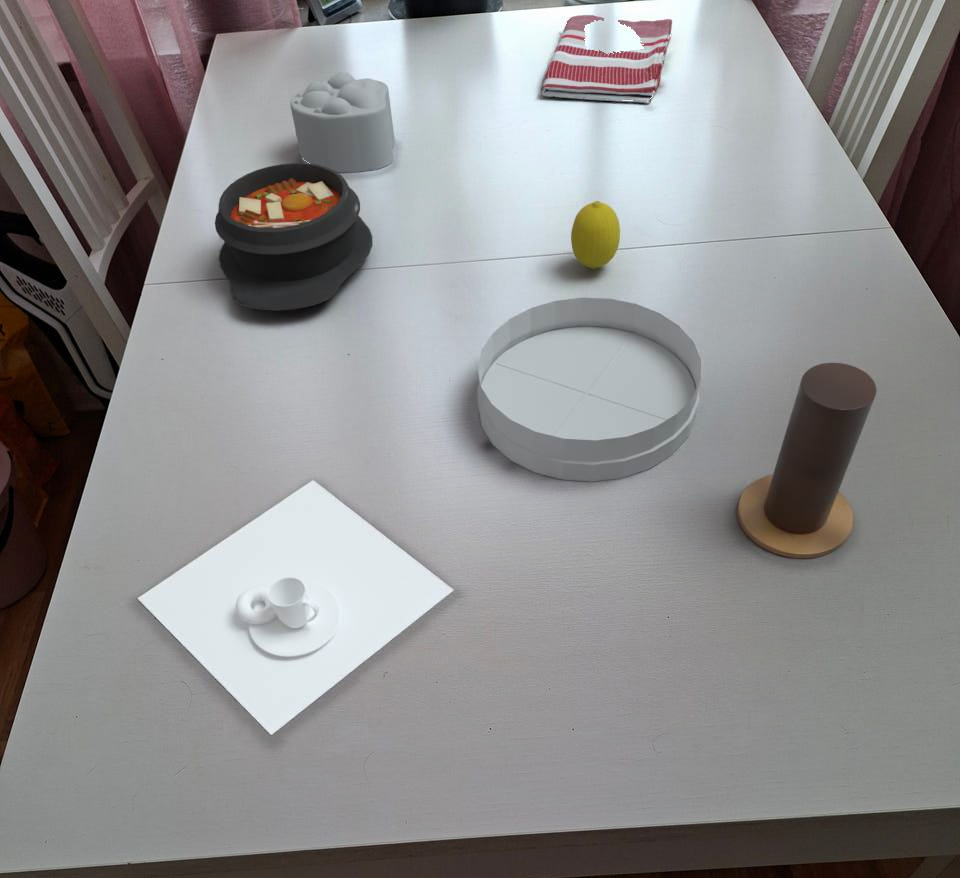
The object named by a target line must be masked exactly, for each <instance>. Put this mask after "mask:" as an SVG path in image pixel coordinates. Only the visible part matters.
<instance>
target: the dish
mask: <svg viewBox="0 0 960 878" xmlns="http://www.w3.org/2000/svg"><path fill="white" fill-rule="evenodd" d="M477 378H478V383H477V384H478V385H477V388H476V395H477V404H478V412H479V419H480V424H481V428H482V430H483V431H484V433H485V435H486V436H487V438H488V440H489V441H490V443H491V444H492V446H493V447H494V448H496V449H497V450H498V451H499V452H500V453H501V454H502V455H503V456H505V457H506V458H507V459H508V460H509V461H511V462H513V463H515V464H516V465H518V466H521V467H523V468H525V469H526V470H529V471H530V472H533V473H535V474H539V475H542V476H547V477H550V478H554V479H558V480H561V481H574V482H575V481H576V482H592V483H593V482H601V481H610V480H617V479H624V478H627V477H630V476H633V475H635V474H638V473H642V472H645V471H647V470H650V469H652V468H653V467H656V466H657V465H658V464H660V463H662V462H663V461H665V460H666V459H668V458H669V457H671V456H673V455H674V453H675V452H676V451H677V450H679V448H680V447H681V446H682V445H683V444H684V443H685V442H686V441H687V440H688V438H689V435H690V433H691V431H692V428H693V425H694V423H695V421H696V417H697V411H698V407H699V403H700V384H701V380H702V359H701V356H700V354H699V352H698V349H697V346H696V345H695V342H694V341H693V339H692V338H691V337H690V336H689V334H688V333H686V332H685V330H684V329H682V327H681V326H680V324H677V323H676V322H674V321H673V320H671V319H670V318H668V317H666V316H665V315H663V314H662V313H660V312H658V311H656V310H653V309H650V308H648V307H645V306H643V305H641V304H637V303H635V302H629V301H623V300H618V299H614V298H603V297H576V298H567V299H559V300H554V301H553V300H552V301H550V302H546V303H544V304H539V305H536V306H533V307H530V308H528V309H526V310H524V311H522V312H520V313H518V314H516V315H515V316H512V317H511V318H509V319H507V320H506V321H505V322H504V323H502V325H500V326H499V327H498V328H497V329H496V330H494V331H493V332H492V333H491V335H490V336H489V337H488V339H487V341H486V343H484V345H483V347H482V348H481V350H480V355H479V360H478V364H477Z"/></svg>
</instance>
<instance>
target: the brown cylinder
mask: <svg viewBox="0 0 960 878" xmlns="http://www.w3.org/2000/svg"><path fill="white" fill-rule="evenodd" d="M799 383H800V384H799V385H798V389H797V393H796V397H795V400H794V403H793V407H792V410H791V414H790V417H789V420H788V422H787V423H788V424H787V426H786V430H785V433H784V437H783V441H782V442H781V447H780V451H779V453H778V457H777V460H776V464H775V467H774V470H773V473H772V474H773V477H772V480H771V483H770V487H769V490H768V494H767V497H766V500H765V504H764V512H765V515H766V517H767V519H768V520H769V521H770V522H771V523H772V524H773V525H774V526H775V527H777V528H779V529H780V530H783V531H785V532H788V533H793V534H808V533H812V532H815V531H817V530H819V529H820V528H822V527H823V526H824V525H825V523H826V522H827V519H828V517H829V514H830V511H831V509H832V506H833V504H834V501H835V499H836V496H837V493H838V491H839V490H840V487H841V486H842V483H843V480H844V478H845V476H846V472H847V470H848V468H849V465H850V463H851V460H852V457H853V455H854V452H855V450H856V447H857V444H858V442H859V439H860V436H861V434H862V431H863V429H864V426H865V424H866V421H867V419H868V417H869V414H870V411H871V408H872V406H873V403H874V400H875V399H876V395H877V385H876V382H875V381H874V379H873V378H872V377H871V376H870V375H869V374H868V373H867V372H866V371H864V370H862V369H861V368H859V367H857V366H853V365H851V364H847V363H841V362H823V363H820V364H817V365H814V366H812V367H810V368H808V369H806V371H805V372H804V373H803V375H802V377H801V380H800V382H799ZM839 492H840V491H839Z"/></svg>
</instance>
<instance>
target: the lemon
mask: <svg viewBox="0 0 960 878" xmlns="http://www.w3.org/2000/svg"><path fill="white" fill-rule="evenodd" d="M570 241H571V243H570V244H571V249H572V252H573V255H574V257H575V258H576V260H577V261H578V262H579V263H580V264H582V265H583V266H585V267H588V268H590V269H591V270H596V269H598V268H600V267H604V266H605V265H607V264H608V263H610V261H612V260H613V258H614V257H615V256H616V253H617V251H618V249H619V246H620V241H621V227H620V221H619V218H618V216H617V213H616V212H615V210H614V209H613V208H612V207H611V206H610V205H609V204H606V203H604V202H601V201H599V200H595V201H594V202H590V203H588V204H586V205H584V206H583V207H582V208H580V210H579V211H578V212H577V214H576V216H575V218H574V221H573V224H572V227H571V233H570Z"/></svg>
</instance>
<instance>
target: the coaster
mask: <svg viewBox="0 0 960 878" xmlns="http://www.w3.org/2000/svg"><path fill="white" fill-rule="evenodd" d="M772 477H773V473H772V474H768V475H765V476H763V477H760V478H757V479H756V480H754V481H752V483H750V484H749V485H748V486H747V487H746V488H745V489H744V491H742V493H741V495H740V498H739V501H738V504H737V519H738V522H739V524H740V526H741V529H742V530H743V532H744V533H745V535H746V536H747V537H748V538H750V540H752V542H754V543H755V544H756V545H758V546H759V547H761V548H763V549H764V550H766V551H768V552H771V553H773V554H776V555H779V556H783V557H786V558H793V559H812V558H818V557H822V556H825V555H829V554H830V553H833V552H834V551H836V550H838V549H839V548H840V547H841V546H842V545H844V543H846V542H847V540H848V538H849V536H850V534H851V532H852V529H853V527H854V526H853V525H854V513H853V510H852V506H851V505H850V503H849V501H848V500H847V498H846V497H845V496H844V494H842V493H841V491H838V493H837V496H836V499H835V501H834V504H833V506H832V509H831V511H830V514H829V517H828V519H827V522H826V523H825V525H824V526H823V527H822V528H820V529H819V530H817V531H815V532H812V533H808V534H793V533H788V532H785V531H783V530H780V529H779V528H777V527H775V526H774V525H773V524H772V523H771V522H770V521H769V520H768V519H767V517H766V515H765V512H764V504H765V500H766V497H767V494H768V490H769V487H770V483H771V480H772Z"/></svg>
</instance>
